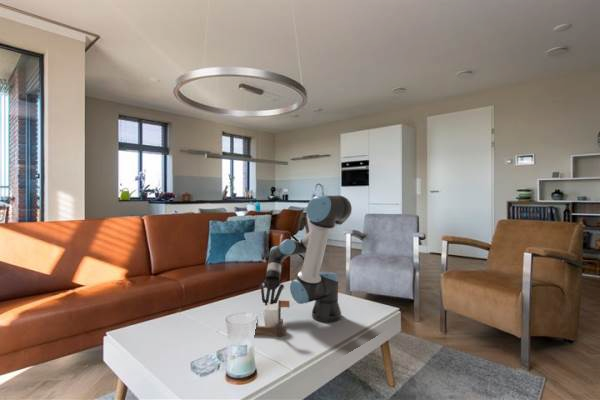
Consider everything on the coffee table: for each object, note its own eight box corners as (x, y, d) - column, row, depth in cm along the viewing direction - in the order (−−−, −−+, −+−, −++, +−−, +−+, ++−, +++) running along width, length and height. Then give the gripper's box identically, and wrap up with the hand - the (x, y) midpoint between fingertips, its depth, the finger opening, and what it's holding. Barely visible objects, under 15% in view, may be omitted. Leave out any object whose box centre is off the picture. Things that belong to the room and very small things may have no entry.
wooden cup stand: (250, 324, 155) (250, 291, 155) (291, 326, 154) (291, 293, 154) (244, 335, 144) (244, 299, 143) (289, 337, 142) (289, 301, 142)
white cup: (275, 323, 157) (276, 303, 157) (283, 329, 150) (283, 308, 150) (260, 326, 153) (261, 305, 153) (267, 332, 146) (268, 311, 146)
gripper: (286, 277, 174) (281, 320, 157) (262, 276, 175) (255, 318, 159) (285, 269, 168) (279, 313, 152) (260, 268, 169) (252, 312, 153)
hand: (267, 316), depth 155 cm, fingers closed
